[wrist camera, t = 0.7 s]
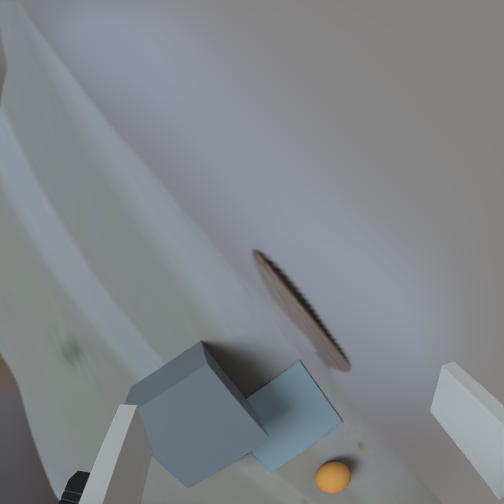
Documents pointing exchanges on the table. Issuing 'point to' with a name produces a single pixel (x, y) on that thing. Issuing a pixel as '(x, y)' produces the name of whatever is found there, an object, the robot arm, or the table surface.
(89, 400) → the table surface
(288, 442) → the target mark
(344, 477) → the ball
